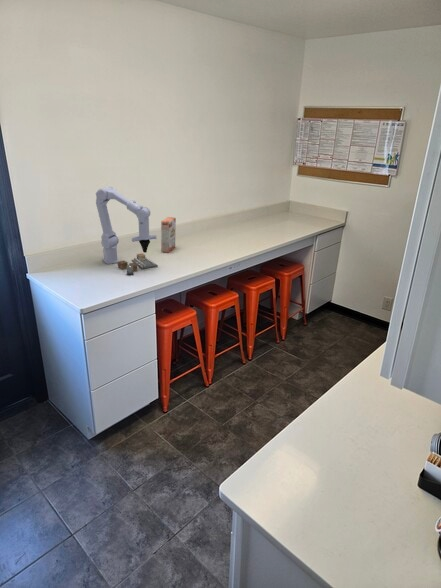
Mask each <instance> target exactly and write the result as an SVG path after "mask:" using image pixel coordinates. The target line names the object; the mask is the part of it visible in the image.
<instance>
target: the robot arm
mask: <svg viewBox="0 0 441 588" xmlns="http://www.w3.org/2000/svg"><path fill="white" fill-rule="evenodd" d="M95 196H96V199H95V204H96V209H97V213H98V217H99V221H100V225H101V228H102V234H101V236H100V237H101V246H102V247H103V251H102V253H103V258H102V261H103V262H104V263H105V264H107V265H109V264H110V265H111V264H118V262H119V261H120V260H119V259H118V244H119V237H118V236H117V234H116V232H115V231H114V230H113V228H112V227H113V226H112V223H111V219H110V215H109V210H108V206H107V204H108V202H110V200H115V201H117V202H119V203H120V204H122V205H124V206H125V207H126V209H127V210H128V211H130V212H132V213H133V215H136V218H137V221H138V236H135V237H131V242H132V243H135V242H138V243H139V244H140V247H141V249H142V253H143V254H146V253H147V252H148V251H147V250H148V248H149V245H150V243H151V240H157V238H158V237H157V235H156V234H150V218H149V217H150V216H151V211H150V208H148V207H147V206H144V205H141V204H139V203H137V201H136V200H129V199H128V198H127V197H125V196H124V195H123V194H121V193H119V192H118V190H117V189H115V188H113V187H112V186H108V187H104V188H99V189H98V190H97V191H96V192H95Z"/></svg>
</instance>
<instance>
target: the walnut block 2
mask: <svg viewBox="0 0 441 588" xmlns="http://www.w3.org/2000/svg"><path fill="white" fill-rule="evenodd" d="M128 263H129V264H128V265H133V273H134V272H138V266H137V263H133V262H128Z"/></svg>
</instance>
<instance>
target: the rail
mask: <svg viewBox="0 0 441 588" xmlns="http://www.w3.org/2000/svg"><path fill="white" fill-rule="evenodd" d="M131 263H137V268H140V269H141V270H147V269H153V268H158V266H159V265H158V264H157V263H155V262H154V261H152V260H151V259H150V258H148V256H147V257H146V256H145V260H144V261H139V260H138V259H137V257H133V259H131Z"/></svg>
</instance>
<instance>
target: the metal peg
mask: <svg viewBox="0 0 441 588" xmlns="http://www.w3.org/2000/svg"><path fill="white" fill-rule="evenodd" d="M126 276H134V272H133V265H129V264H128V265H127V269H126Z"/></svg>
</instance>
